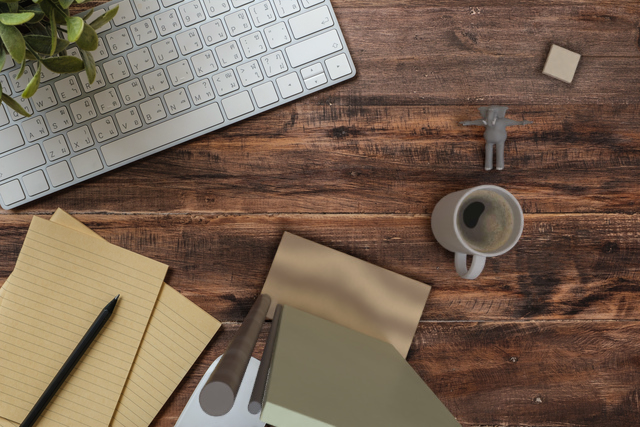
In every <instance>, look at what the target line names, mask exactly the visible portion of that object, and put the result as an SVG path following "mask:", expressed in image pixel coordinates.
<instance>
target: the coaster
mask: <svg viewBox="0 0 640 427" xmlns="http://www.w3.org/2000/svg"><path fill="white" fill-rule="evenodd" d="M581 56H582V55H581V54H579V53H577V52H575V51H572V50H569V49H567V48H564V47H562V46H559V45H556V44H554V43H553V44H551V46H550V48H549V51H548V54H547V57H546V60H545V62H544V65H543V68H542V70H541V74H543V75H546V76H549V77H551V78H553V79H556V80H559V81H560V82H564V83H566V84H571V83H572V81H573V79H574V76H575V73H576V71H577V67H578V65H579V61H580V59H581Z"/></svg>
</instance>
